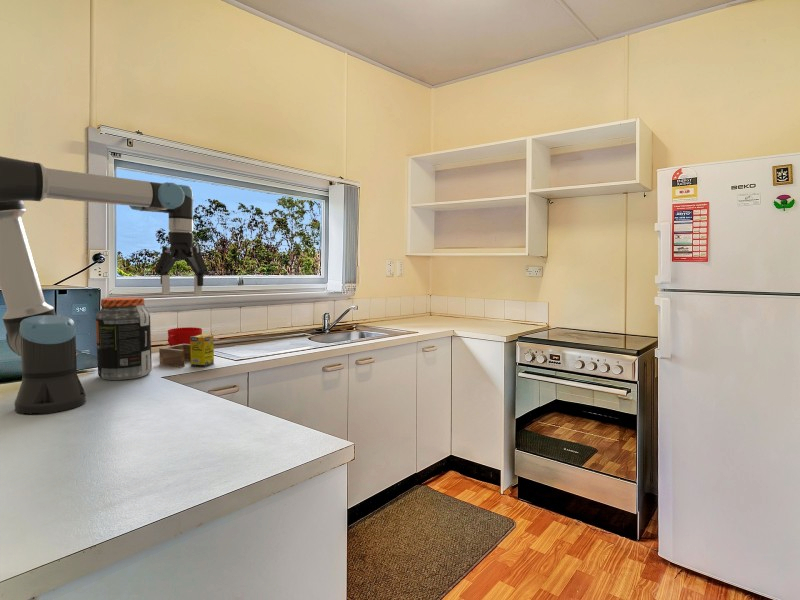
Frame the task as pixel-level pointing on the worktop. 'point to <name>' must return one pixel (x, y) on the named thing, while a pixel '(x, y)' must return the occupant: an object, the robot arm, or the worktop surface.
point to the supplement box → (202, 350)
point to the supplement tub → (123, 339)
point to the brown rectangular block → (175, 355)
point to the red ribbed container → (182, 335)
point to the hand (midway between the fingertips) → (181, 295)
